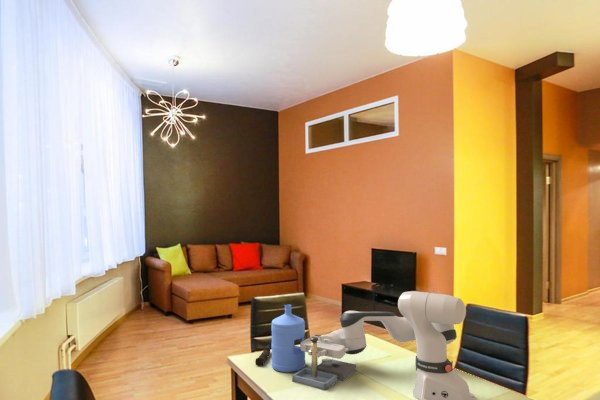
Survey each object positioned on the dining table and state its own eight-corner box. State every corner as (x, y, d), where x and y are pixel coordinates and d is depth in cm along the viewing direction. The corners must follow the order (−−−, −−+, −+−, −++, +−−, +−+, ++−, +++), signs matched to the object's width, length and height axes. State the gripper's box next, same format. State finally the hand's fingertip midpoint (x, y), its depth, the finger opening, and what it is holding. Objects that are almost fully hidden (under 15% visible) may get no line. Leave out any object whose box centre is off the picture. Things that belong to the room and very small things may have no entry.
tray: (337, 381, 167) (337, 375, 167) (325, 390, 159) (325, 383, 159) (305, 373, 176) (305, 367, 176) (292, 381, 168) (292, 375, 168)
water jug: (270, 373, 177) (270, 309, 178) (272, 360, 192) (271, 301, 193) (306, 372, 177) (305, 308, 178) (304, 359, 193) (304, 301, 194)
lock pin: (320, 375, 168) (319, 337, 169) (316, 378, 165) (315, 340, 166) (313, 374, 170) (312, 336, 171) (309, 377, 167) (308, 338, 168)
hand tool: (263, 367, 185) (263, 356, 185) (255, 366, 185) (255, 356, 186) (274, 353, 203) (274, 344, 203) (267, 352, 204) (267, 343, 204)
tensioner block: (356, 371, 178) (355, 361, 178) (343, 380, 168) (343, 369, 168) (328, 365, 186) (328, 355, 186) (315, 373, 176) (315, 363, 176)
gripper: (350, 356, 173) (335, 366, 161) (310, 348, 184) (293, 357, 173) (350, 341, 173) (335, 350, 162) (310, 334, 184) (293, 342, 173)
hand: (313, 354), depth 167 cm, fingers closed on lock pin, 2 cm apart
